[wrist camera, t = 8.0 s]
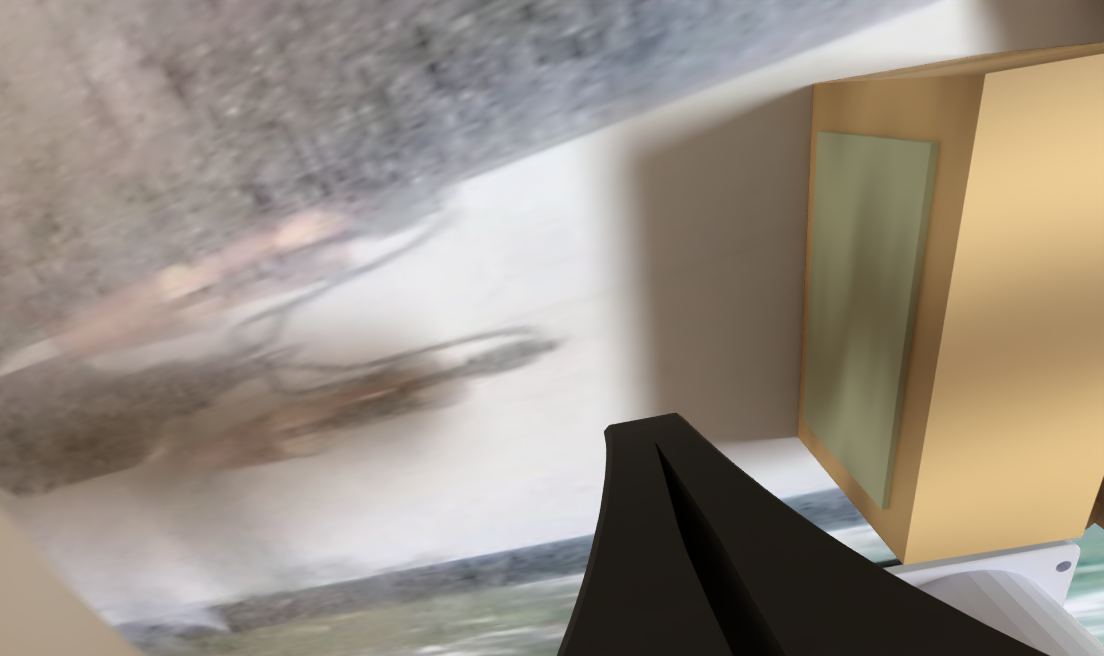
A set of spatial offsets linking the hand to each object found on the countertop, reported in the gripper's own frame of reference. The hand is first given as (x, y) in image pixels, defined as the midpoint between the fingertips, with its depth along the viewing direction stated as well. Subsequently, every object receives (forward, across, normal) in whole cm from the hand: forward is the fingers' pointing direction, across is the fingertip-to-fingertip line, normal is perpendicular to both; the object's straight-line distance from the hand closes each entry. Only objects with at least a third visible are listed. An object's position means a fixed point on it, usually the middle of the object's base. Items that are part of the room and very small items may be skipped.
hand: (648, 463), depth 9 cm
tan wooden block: (+6, -8, 0) cm, 9 cm away
